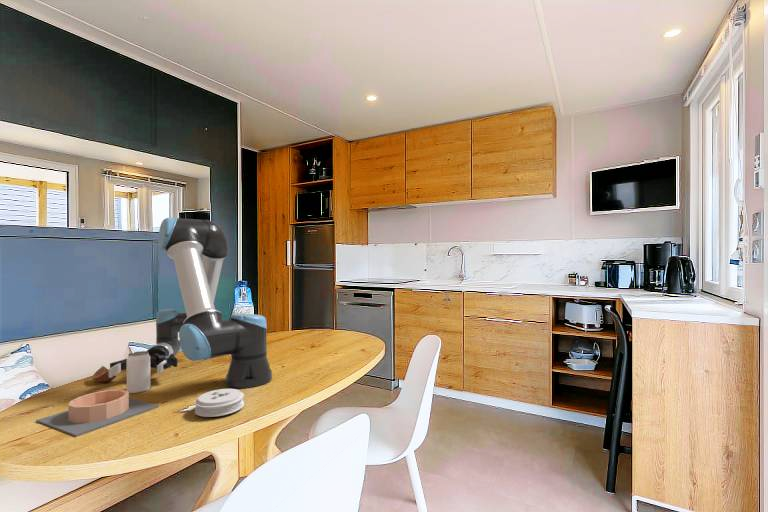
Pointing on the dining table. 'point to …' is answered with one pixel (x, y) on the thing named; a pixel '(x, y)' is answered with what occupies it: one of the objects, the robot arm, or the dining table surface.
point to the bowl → (98, 406)
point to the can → (138, 372)
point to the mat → (77, 429)
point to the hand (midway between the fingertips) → (134, 371)
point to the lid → (219, 402)
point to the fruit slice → (102, 375)
